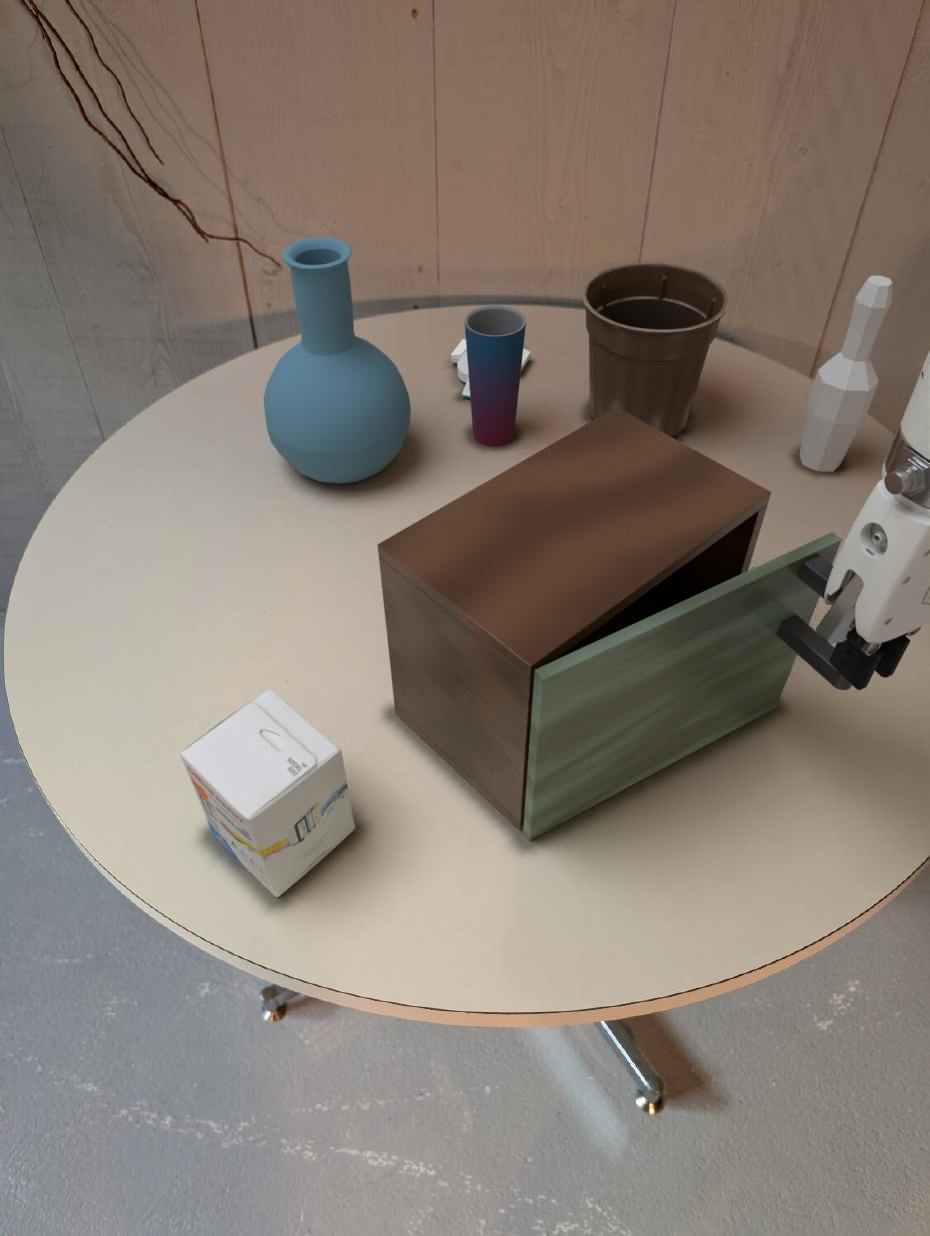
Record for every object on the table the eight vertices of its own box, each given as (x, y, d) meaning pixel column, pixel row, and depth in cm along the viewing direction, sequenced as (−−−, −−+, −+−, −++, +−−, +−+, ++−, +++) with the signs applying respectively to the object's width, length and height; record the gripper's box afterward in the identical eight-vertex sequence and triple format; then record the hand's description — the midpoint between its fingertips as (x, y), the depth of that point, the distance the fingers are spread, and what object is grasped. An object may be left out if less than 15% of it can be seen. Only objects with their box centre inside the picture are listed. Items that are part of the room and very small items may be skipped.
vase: (414, 416, 114) (402, 214, 95) (413, 500, 102) (399, 289, 84) (282, 419, 113) (244, 218, 95) (265, 504, 102) (220, 293, 84)
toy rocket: (473, 333, 127) (473, 318, 126) (540, 345, 125) (540, 330, 123) (431, 392, 117) (430, 376, 116) (502, 407, 115) (502, 391, 113)
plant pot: (553, 437, 110) (562, 313, 99) (592, 370, 120) (605, 251, 109) (685, 467, 106) (711, 342, 94) (715, 395, 116) (741, 274, 104)
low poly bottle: (844, 481, 104) (911, 300, 88) (788, 469, 105) (843, 289, 90) (850, 450, 108) (915, 272, 92) (795, 439, 110) (850, 262, 94)
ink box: (209, 834, 73) (173, 750, 65) (290, 769, 77) (267, 682, 69) (276, 902, 69) (248, 822, 61) (358, 829, 73) (343, 745, 65)
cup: (461, 447, 109) (459, 333, 98) (470, 415, 114) (469, 303, 103) (517, 453, 108) (522, 338, 97) (524, 420, 113) (529, 307, 102)
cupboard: (720, 663, 85) (772, 491, 70) (519, 830, 73) (530, 666, 58) (594, 575, 94) (616, 406, 79) (394, 713, 81) (376, 544, 67)
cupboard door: (833, 761, 77) (916, 595, 63) (578, 910, 68) (606, 756, 54) (769, 699, 82) (832, 531, 67) (522, 831, 73) (534, 669, 58)
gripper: (904, 545, 48) (811, 748, 61) (1106, 461, 53) (978, 666, 66) (807, 467, 52) (740, 672, 66) (1001, 397, 57) (901, 601, 71)
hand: (860, 668), depth 66 cm, fingers closed on cupboard door
